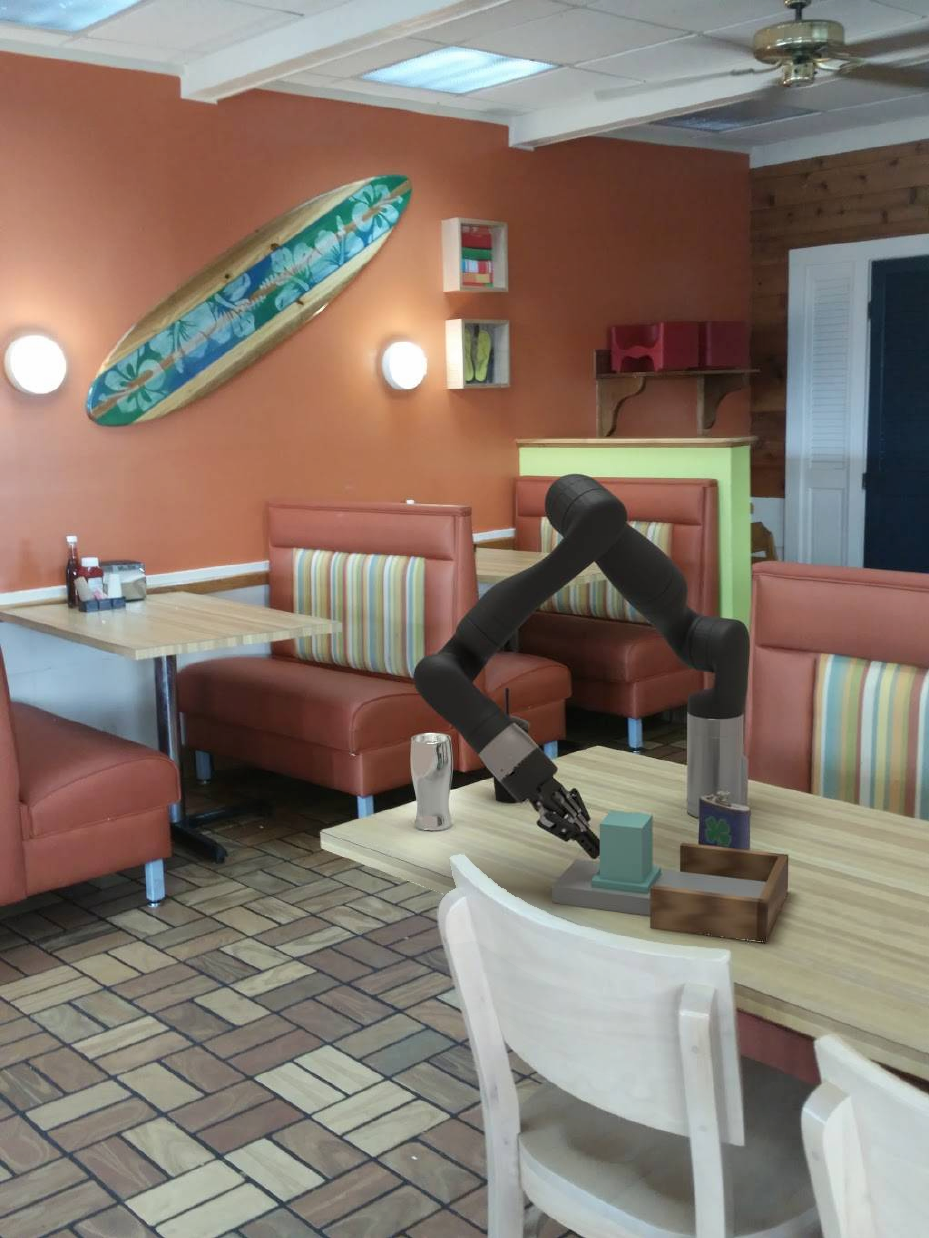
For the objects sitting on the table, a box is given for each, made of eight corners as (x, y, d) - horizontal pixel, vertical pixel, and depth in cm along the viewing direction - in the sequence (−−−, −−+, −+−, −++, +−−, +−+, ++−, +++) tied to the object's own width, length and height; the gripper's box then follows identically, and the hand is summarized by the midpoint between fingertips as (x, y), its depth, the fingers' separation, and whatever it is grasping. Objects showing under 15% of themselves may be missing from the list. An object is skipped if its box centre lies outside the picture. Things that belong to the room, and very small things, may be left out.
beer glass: (449, 833, 210) (447, 744, 207) (408, 831, 211) (405, 742, 209) (458, 819, 216) (456, 732, 214) (418, 817, 218) (415, 731, 215)
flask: (753, 864, 193) (754, 795, 191) (741, 869, 191) (741, 800, 189) (704, 849, 200) (705, 782, 198) (692, 853, 198) (692, 787, 196)
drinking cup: (485, 793, 230) (482, 684, 226) (527, 791, 231) (526, 682, 227) (489, 806, 223) (487, 694, 219) (533, 804, 223) (531, 692, 220)
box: (650, 927, 171) (650, 888, 170) (681, 878, 188) (682, 842, 187) (765, 943, 166) (766, 903, 165) (787, 891, 182) (788, 854, 181)
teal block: (591, 886, 179) (590, 825, 178) (606, 866, 186) (606, 807, 185) (647, 894, 176) (647, 831, 175) (661, 873, 184) (661, 813, 182)
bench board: (552, 902, 180) (552, 885, 180) (576, 874, 190) (575, 858, 190) (753, 929, 170) (753, 912, 169) (767, 899, 180) (767, 882, 179)
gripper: (517, 766, 192) (596, 854, 189) (483, 791, 180) (567, 886, 177) (550, 734, 189) (631, 823, 186) (518, 758, 177) (604, 853, 174)
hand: (600, 854), depth 181 cm, fingers closed
